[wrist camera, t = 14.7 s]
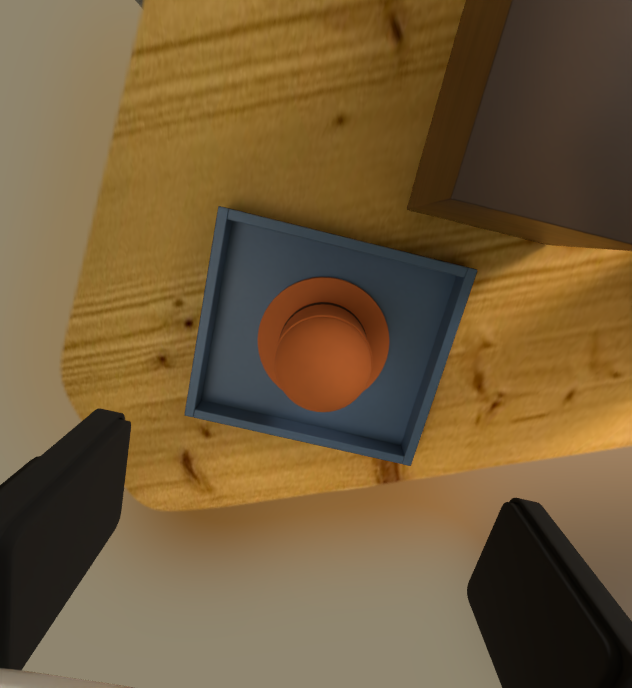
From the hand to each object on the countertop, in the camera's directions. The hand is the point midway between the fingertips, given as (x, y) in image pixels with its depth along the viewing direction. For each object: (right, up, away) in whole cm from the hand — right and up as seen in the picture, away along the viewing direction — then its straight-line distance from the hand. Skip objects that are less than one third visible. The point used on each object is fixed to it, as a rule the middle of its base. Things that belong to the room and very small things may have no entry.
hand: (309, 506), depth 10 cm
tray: (+1, +4, +17) cm, 17 cm away
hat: (+1, +4, +16) cm, 17 cm away
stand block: (+11, +16, +13) cm, 24 cm away
